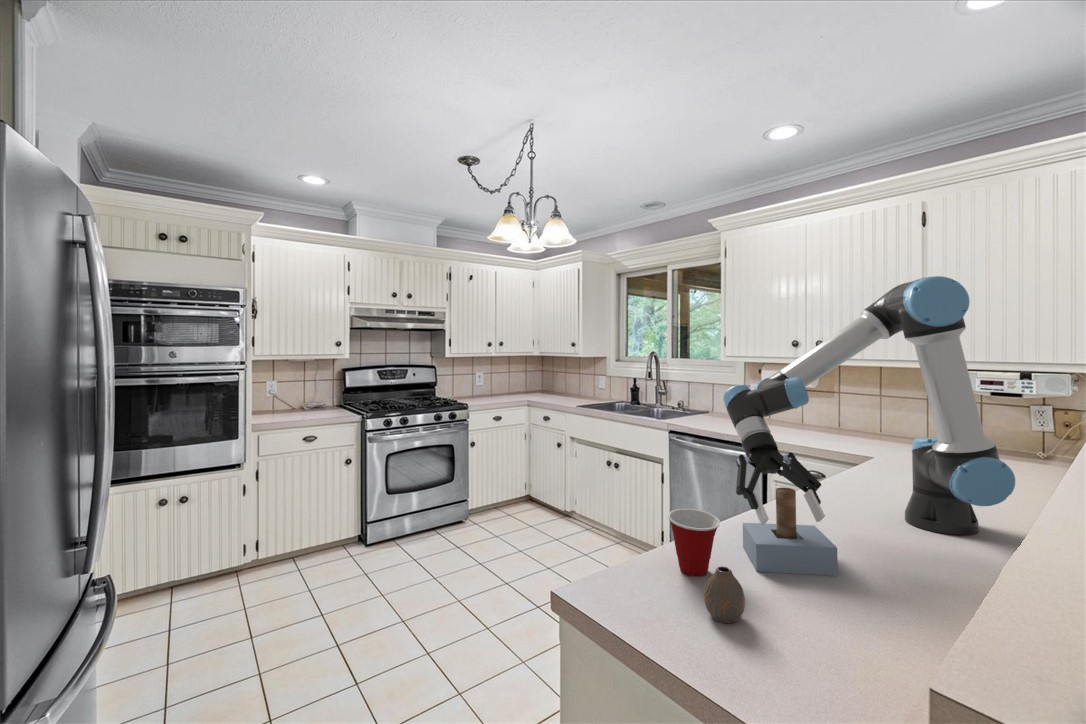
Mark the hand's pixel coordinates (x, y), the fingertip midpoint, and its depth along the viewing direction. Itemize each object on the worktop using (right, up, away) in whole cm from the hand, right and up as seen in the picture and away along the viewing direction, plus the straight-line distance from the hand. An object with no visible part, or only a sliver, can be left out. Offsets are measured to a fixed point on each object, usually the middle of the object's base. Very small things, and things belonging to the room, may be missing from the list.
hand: (793, 520), depth 107 cm
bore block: (0, -10, +3) cm, 10 cm away
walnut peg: (0, -9, +3) cm, 9 cm away
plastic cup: (-22, -11, -1) cm, 25 cm away
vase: (-22, -11, -20) cm, 32 cm away
